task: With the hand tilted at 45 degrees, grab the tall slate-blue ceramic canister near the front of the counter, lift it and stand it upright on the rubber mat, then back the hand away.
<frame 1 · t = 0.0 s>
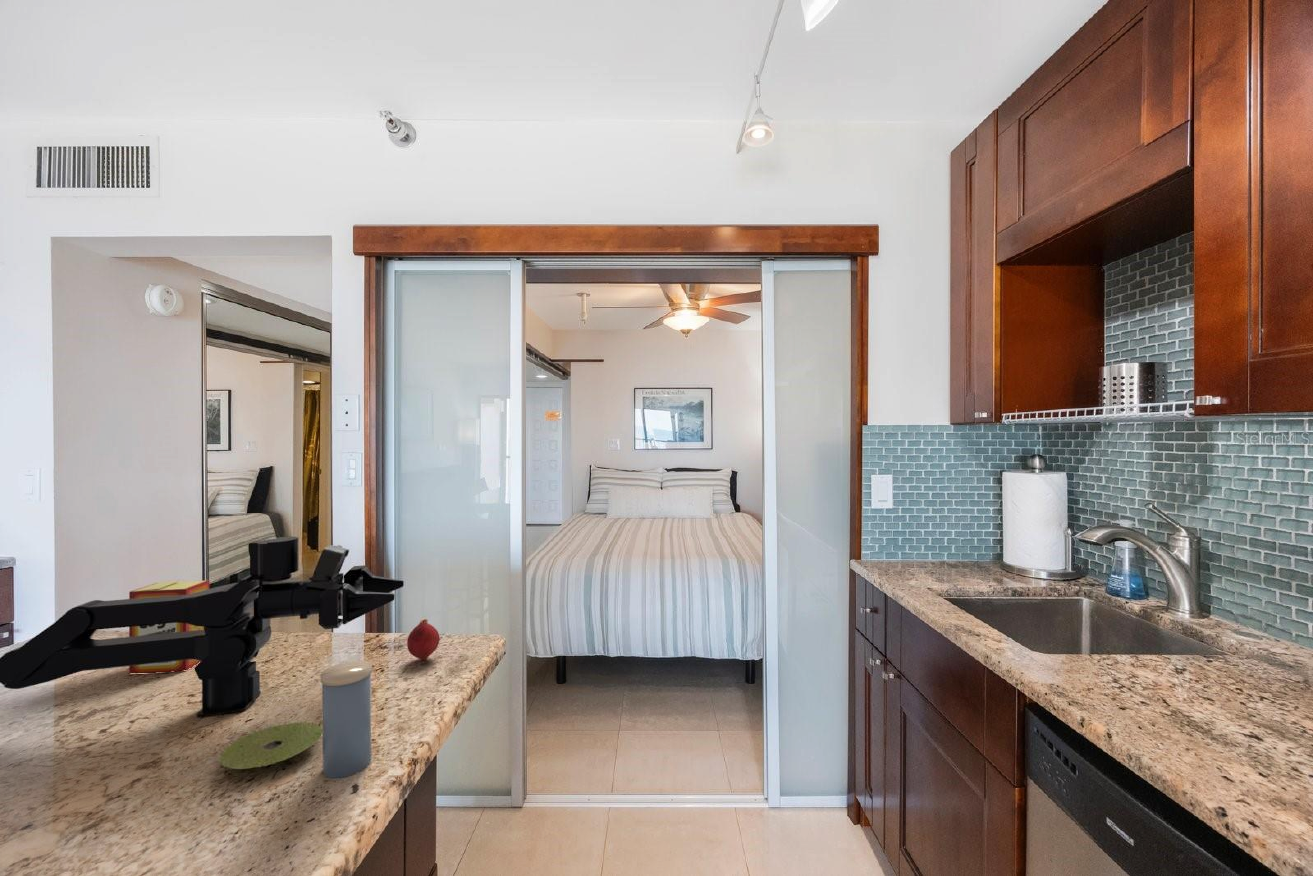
hand: (399, 589, 94), 17 cm above the countertop, tool horizontal, fingers open, 9 cm apart
canister: (347, 765, 70), on the countertop
mat: (273, 758, 72), on the countertop
baking soda box: (170, 667, 103), on the countertop
onion: (423, 661, 104), on the countertop
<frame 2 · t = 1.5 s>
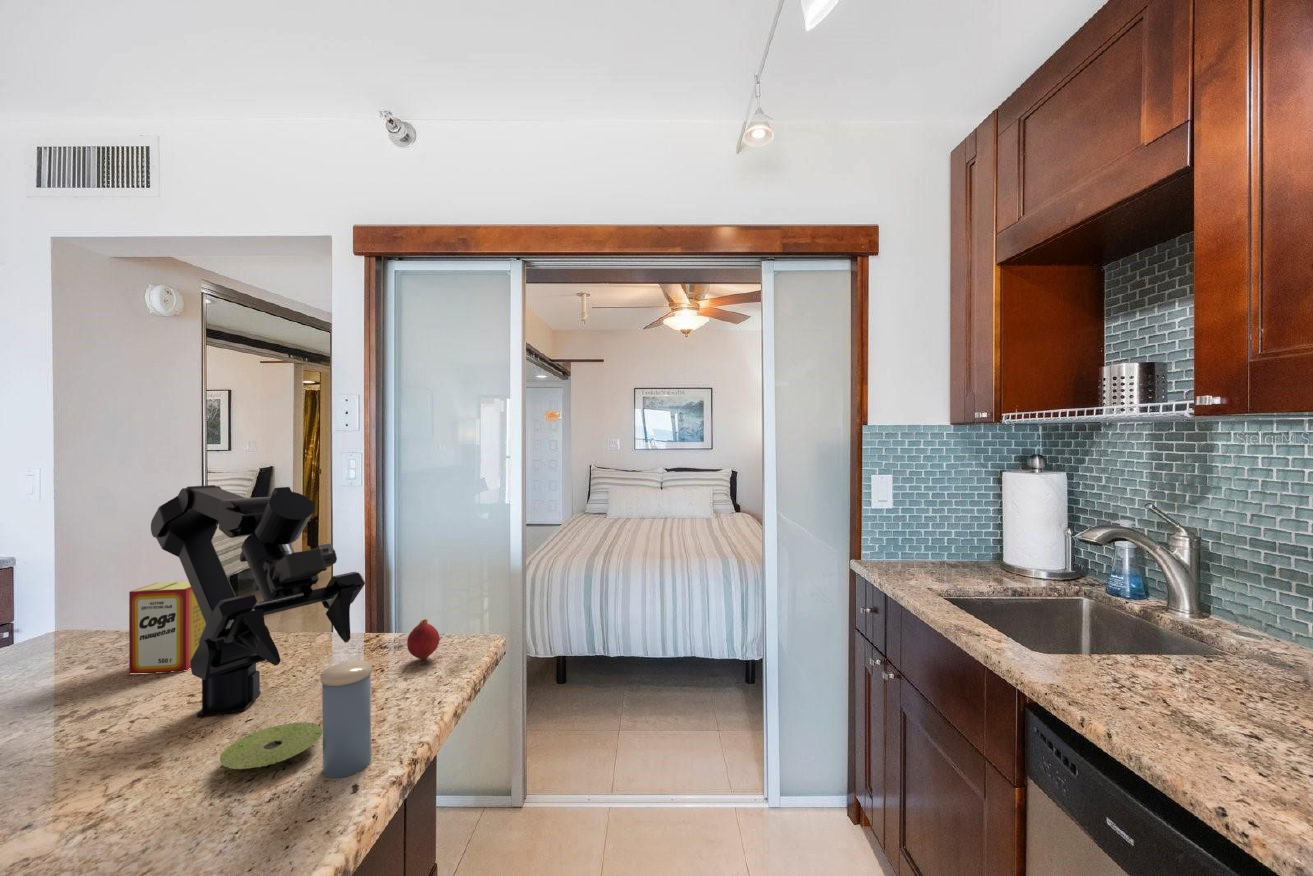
hand: (314, 651, 74), 13 cm above the countertop, tool tilted 45°, fingers open, 9 cm apart
nothing on the countertop moved.
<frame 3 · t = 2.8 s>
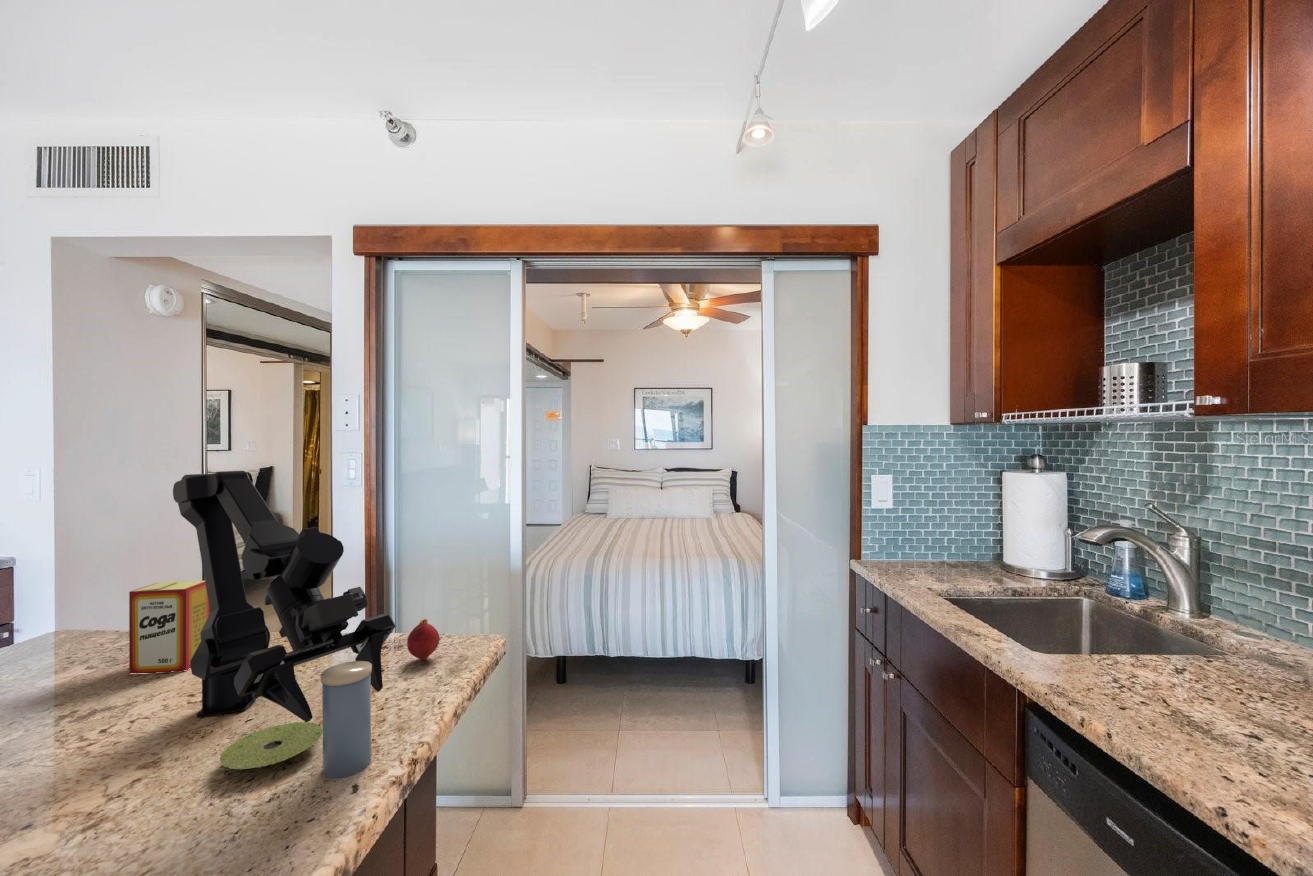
hand: (346, 704, 70), 8 cm above the countertop, tool tilted 45°, fingers open, 9 cm apart
nothing on the countertop moved.
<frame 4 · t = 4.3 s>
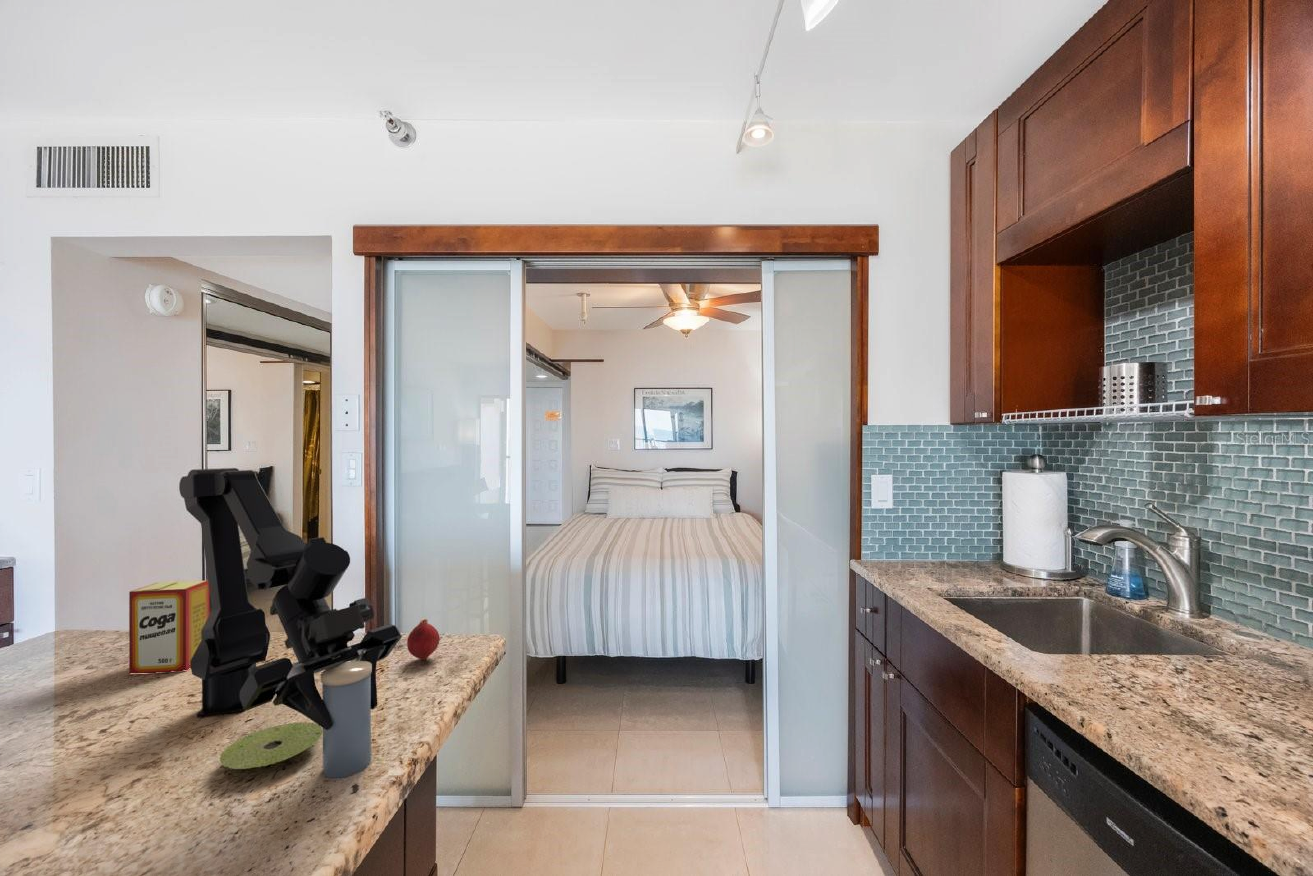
hand: (353, 717, 69), 7 cm above the countertop, tool tilted 45°, fingers closed on canister, 5 cm apart
canister: (347, 765, 70), on the countertop, touching gripper
everything else where it was.
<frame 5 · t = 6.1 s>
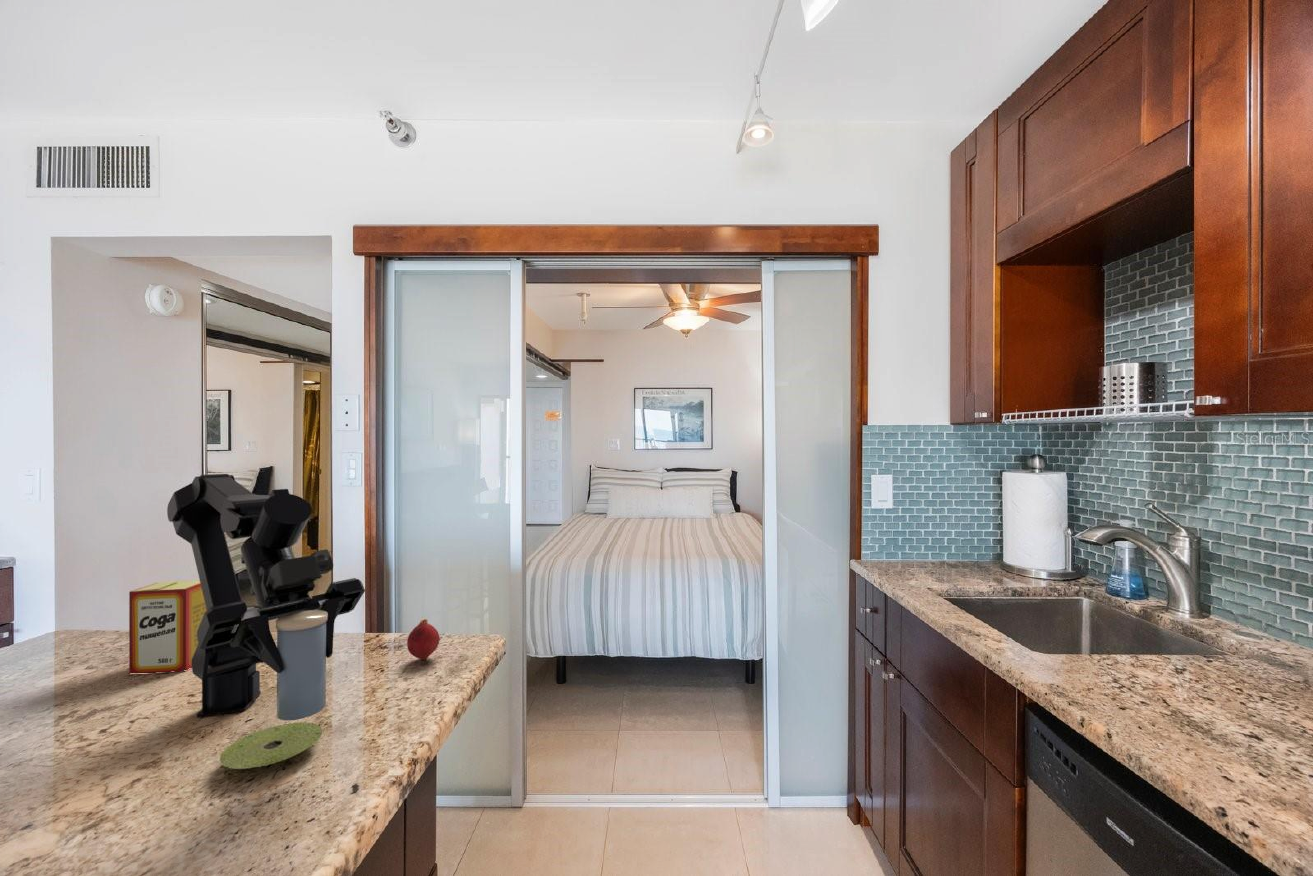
hand: (306, 663, 71), 13 cm above the countertop, tool tilted 45°, fingers closed on canister, 5 cm apart
canister: (301, 709, 71), point 7 cm above the countertop, touching gripper
everything else where it was.
when the fingers open (9 cm above the countertop, at t = 8.1 s): canister stays where it is, resting on mat.
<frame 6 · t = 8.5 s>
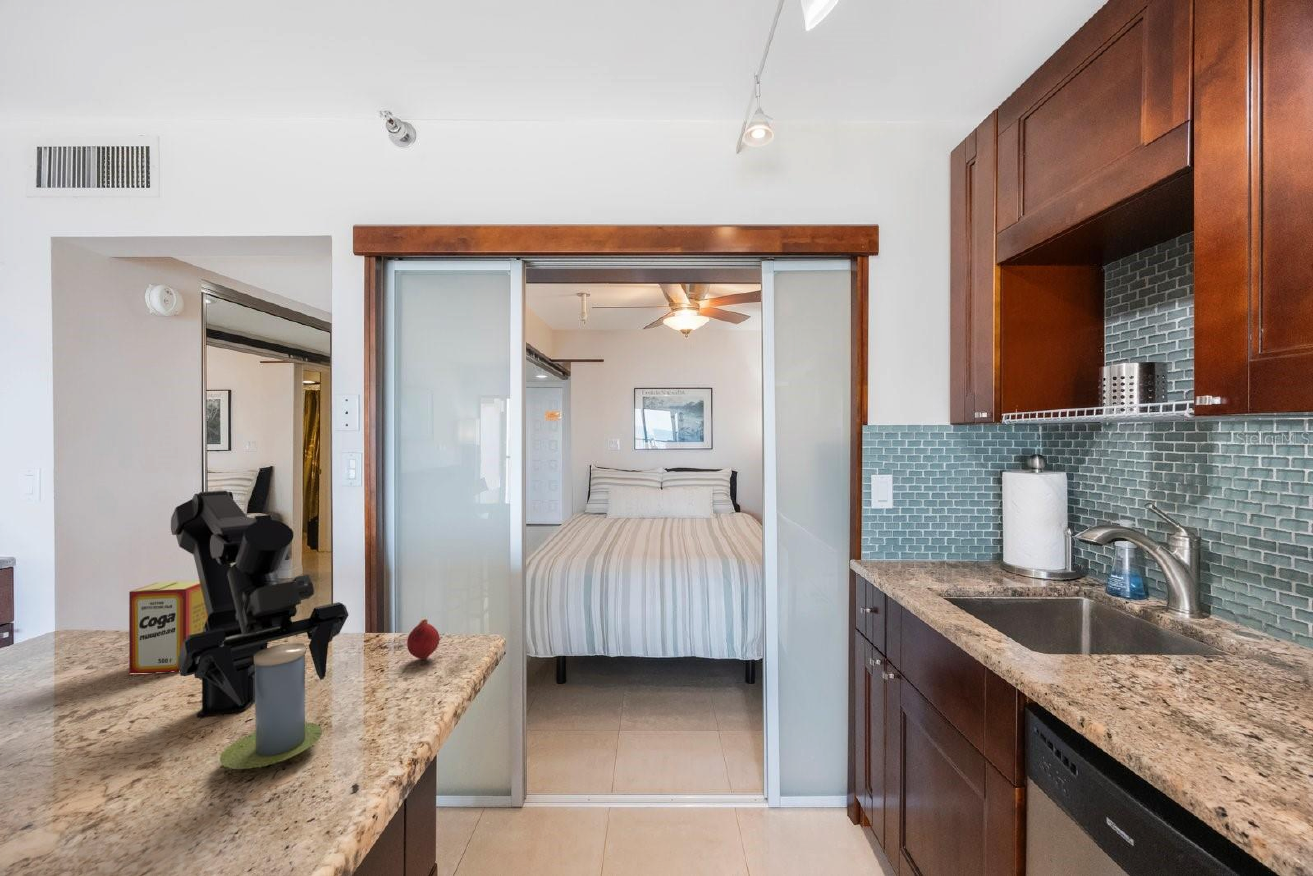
hand: (284, 690, 71), 10 cm above the countertop, tool tilted 45°, fingers open, 9 cm apart
canister: (281, 744, 71), point 2 cm above the countertop, touching mat
mat: (273, 758, 72), on the countertop, touching canister
everything else where it was.
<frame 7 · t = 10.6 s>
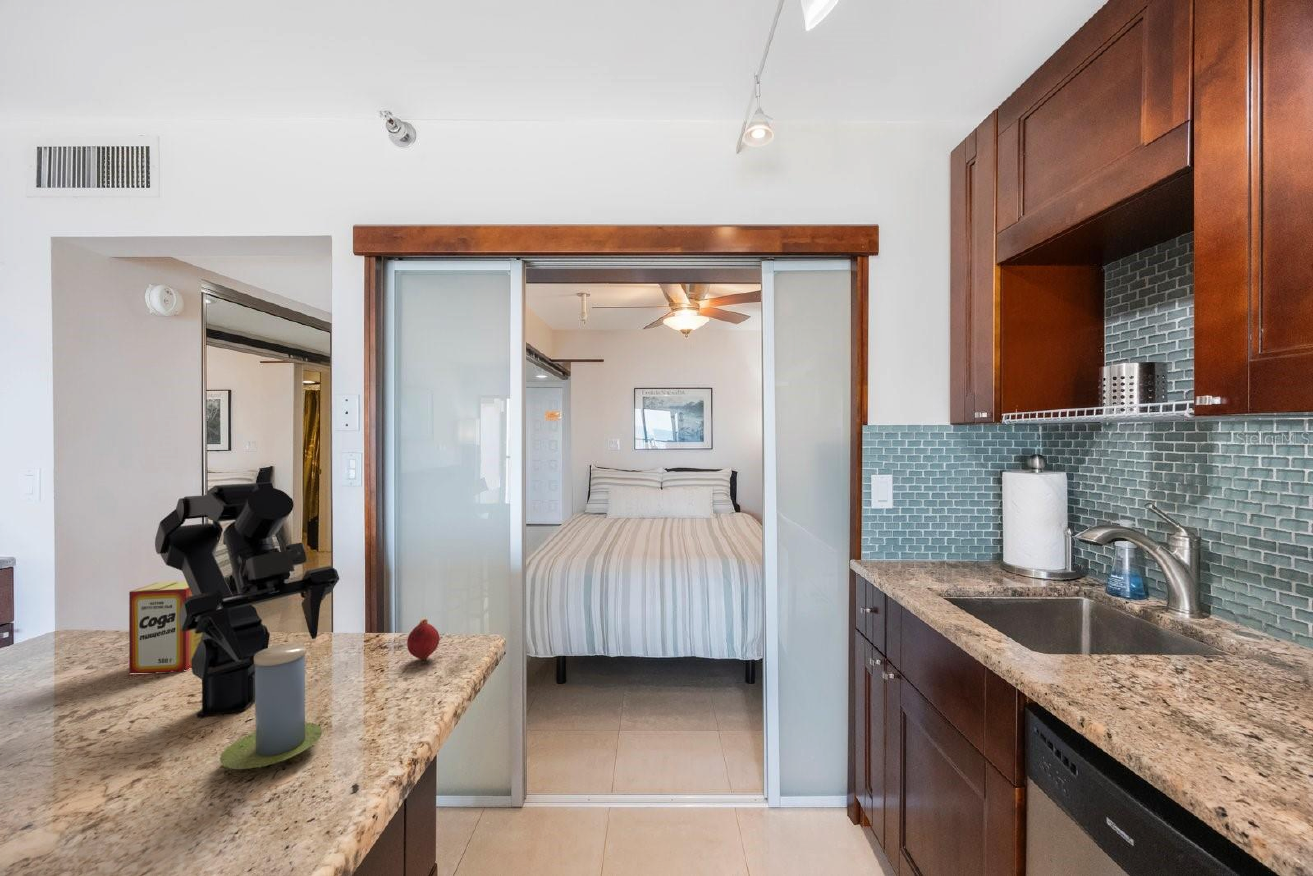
hand: (279, 648, 76), 13 cm above the countertop, tool tilted 35°, fingers open, 9 cm apart
nothing on the countertop moved.
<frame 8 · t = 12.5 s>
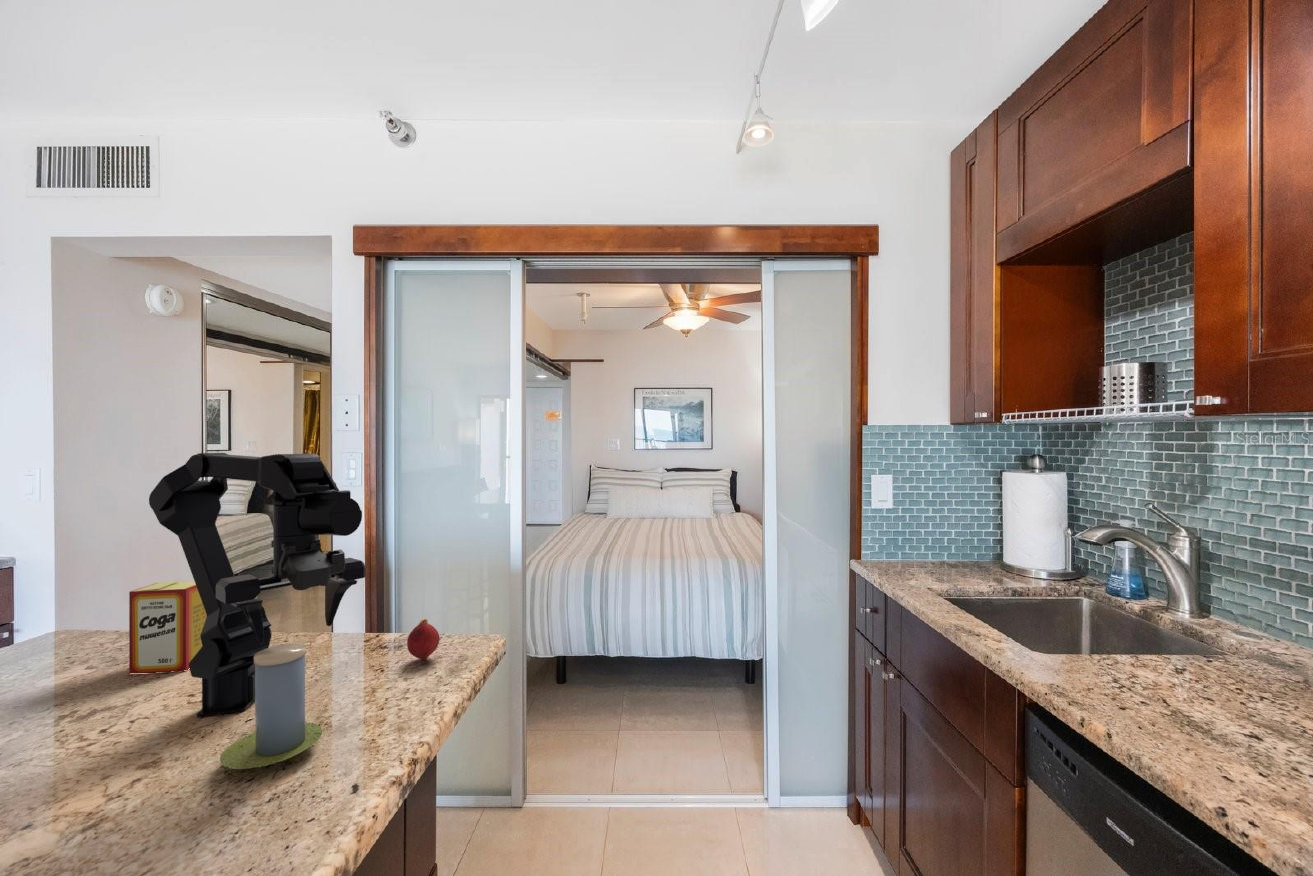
hand: (296, 633, 83), 13 cm above the countertop, tool pointing down, fingers open, 9 cm apart
nothing on the countertop moved.
at the end: canister inside the target area on the mat (1.3 cm from its centre), point 2.2 cm above the mat's base; canister tilted 0°; the gripper is holding nothing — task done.
